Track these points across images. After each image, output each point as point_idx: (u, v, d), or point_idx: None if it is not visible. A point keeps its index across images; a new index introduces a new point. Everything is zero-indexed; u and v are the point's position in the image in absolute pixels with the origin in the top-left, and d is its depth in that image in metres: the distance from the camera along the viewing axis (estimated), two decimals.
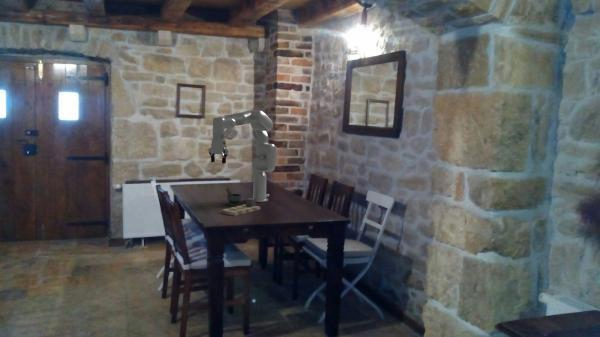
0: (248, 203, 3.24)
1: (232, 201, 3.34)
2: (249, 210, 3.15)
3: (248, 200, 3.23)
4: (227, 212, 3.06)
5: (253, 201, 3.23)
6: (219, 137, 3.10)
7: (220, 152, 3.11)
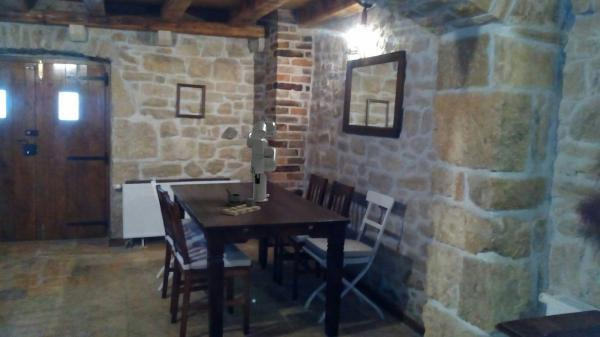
0: (248, 203, 3.24)
1: (232, 201, 3.34)
2: (249, 210, 3.15)
3: (248, 200, 3.23)
4: (227, 212, 3.06)
5: (253, 201, 3.23)
6: None
7: (263, 171, 3.30)
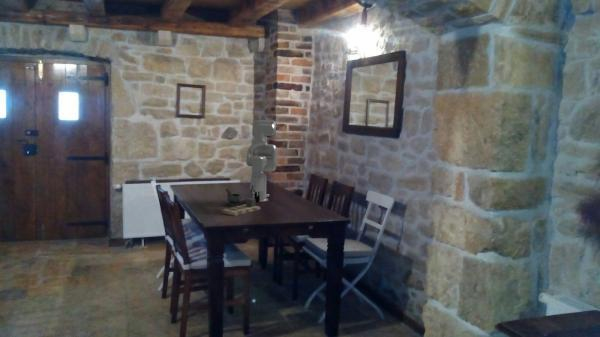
0: (248, 203, 3.24)
1: (232, 201, 3.34)
2: (249, 210, 3.15)
3: (248, 200, 3.23)
4: (227, 212, 3.06)
5: (253, 201, 3.23)
6: None
7: (262, 189, 3.32)
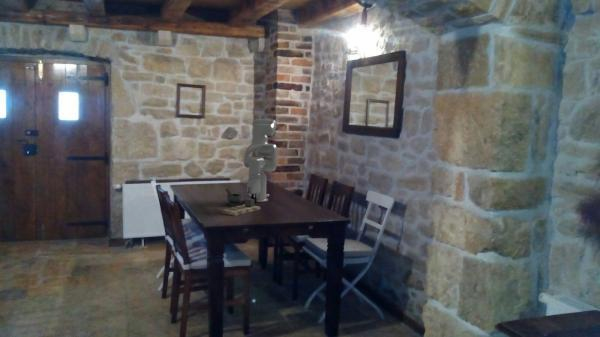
0: (247, 203, 3.23)
1: (232, 201, 3.34)
2: (249, 210, 3.15)
3: (247, 200, 3.23)
4: (227, 212, 3.06)
5: (252, 201, 3.23)
6: None
7: (259, 190, 3.29)
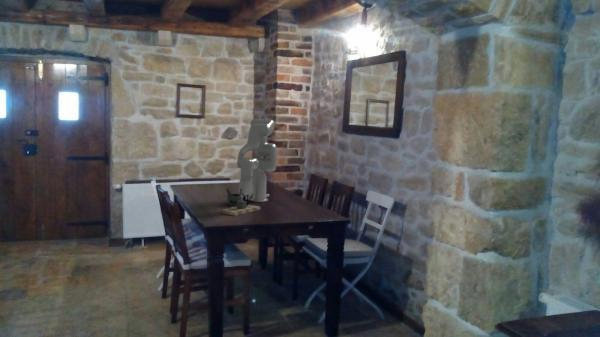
0: (239, 205, 3.16)
1: (232, 201, 3.34)
2: (249, 210, 3.15)
3: (239, 202, 3.15)
4: (227, 212, 3.06)
5: (244, 203, 3.15)
6: None
7: (252, 192, 3.22)
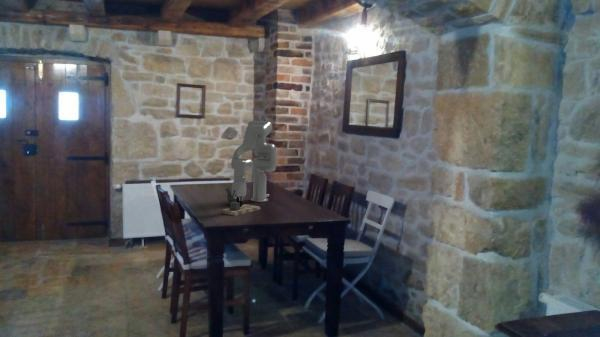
0: (232, 207, 3.10)
1: (232, 201, 3.34)
2: (249, 210, 3.15)
3: (232, 204, 3.10)
4: (227, 212, 3.06)
5: (237, 205, 3.10)
6: None
7: (245, 193, 3.16)
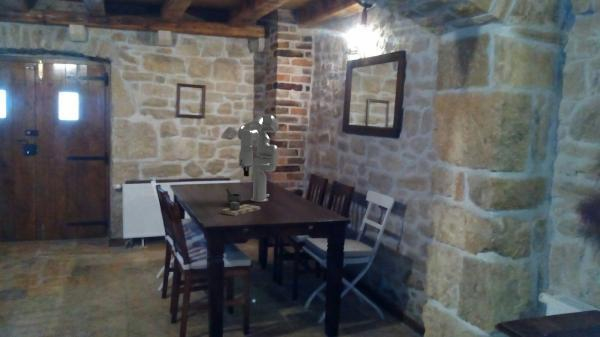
0: (232, 207, 3.10)
1: (232, 201, 3.34)
2: (249, 210, 3.15)
3: (232, 204, 3.10)
4: (227, 212, 3.06)
5: (237, 205, 3.10)
6: None
7: (252, 163, 3.22)
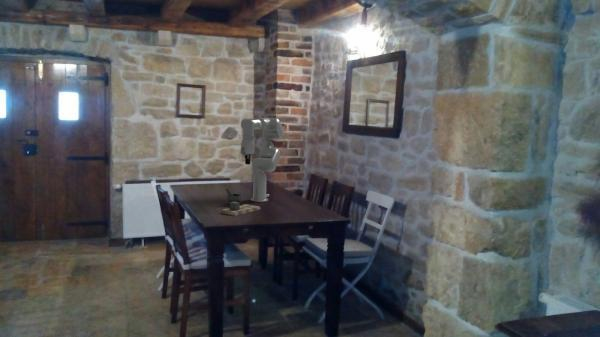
0: (232, 207, 3.10)
1: (232, 201, 3.34)
2: (249, 210, 3.15)
3: (232, 204, 3.10)
4: (227, 212, 3.06)
5: (237, 205, 3.10)
6: None
7: (253, 152, 3.32)
